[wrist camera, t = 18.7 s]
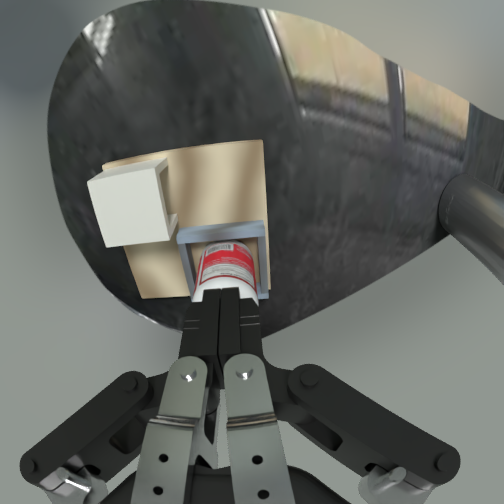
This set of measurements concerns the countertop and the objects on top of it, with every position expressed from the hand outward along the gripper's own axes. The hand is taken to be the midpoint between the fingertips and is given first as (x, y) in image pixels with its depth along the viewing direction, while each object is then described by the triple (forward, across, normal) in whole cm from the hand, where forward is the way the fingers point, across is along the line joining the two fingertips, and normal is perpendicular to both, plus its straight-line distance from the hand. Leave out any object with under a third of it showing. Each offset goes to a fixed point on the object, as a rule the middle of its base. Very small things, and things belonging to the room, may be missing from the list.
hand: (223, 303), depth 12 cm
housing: (+18, +10, 0) cm, 20 cm away
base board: (+19, +5, +5) cm, 20 cm away
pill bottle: (+18, +1, +9) cm, 20 cm away
